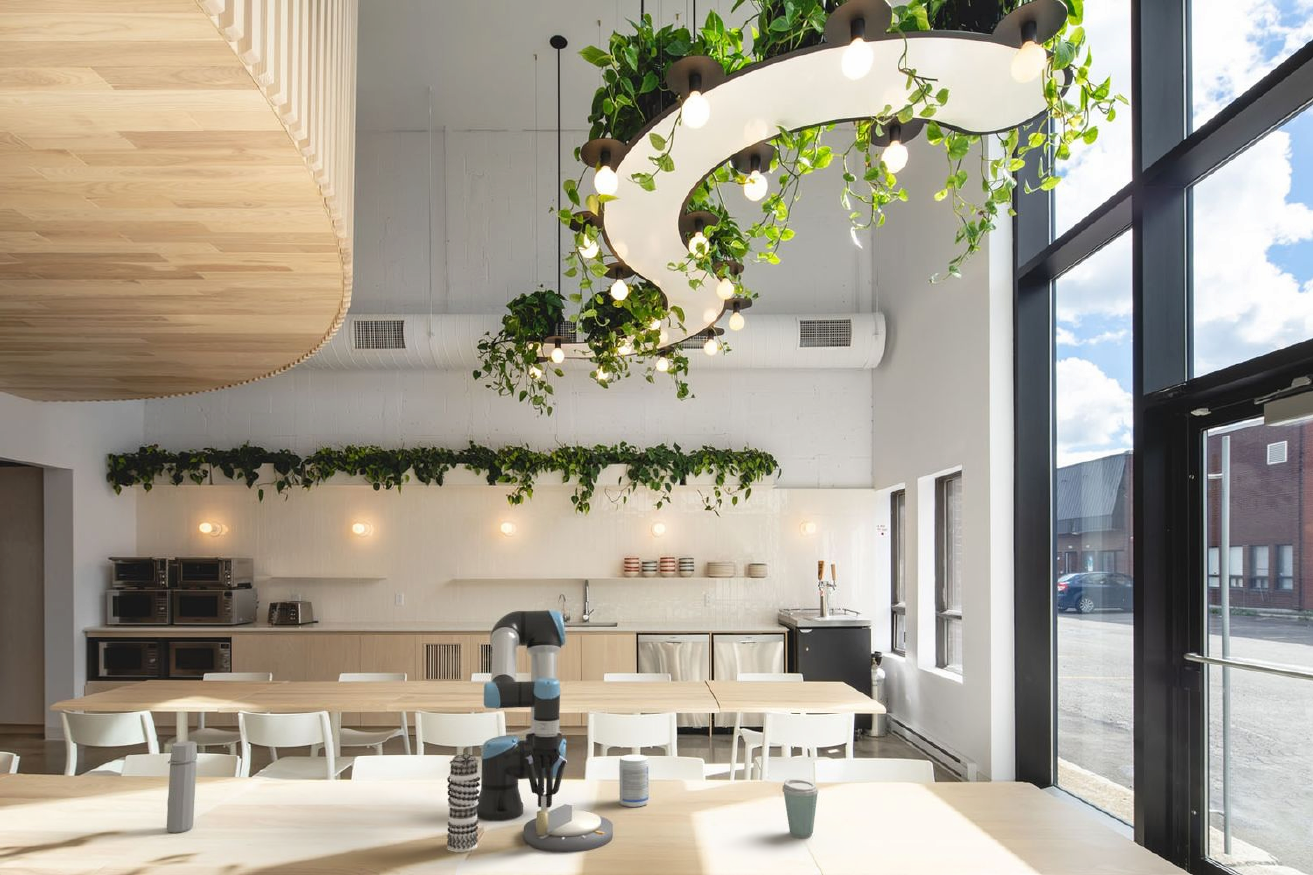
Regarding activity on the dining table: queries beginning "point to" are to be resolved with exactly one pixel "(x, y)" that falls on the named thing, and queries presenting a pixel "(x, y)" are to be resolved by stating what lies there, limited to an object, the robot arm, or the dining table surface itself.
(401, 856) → the dining table surface
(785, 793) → the disposable coffee cup
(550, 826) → the dial
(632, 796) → the supplement tub
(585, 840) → the dial base
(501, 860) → the dining table surface
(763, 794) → the dining table surface
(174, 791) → the water bottle
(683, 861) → the dining table surface
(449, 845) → the decorative candle
